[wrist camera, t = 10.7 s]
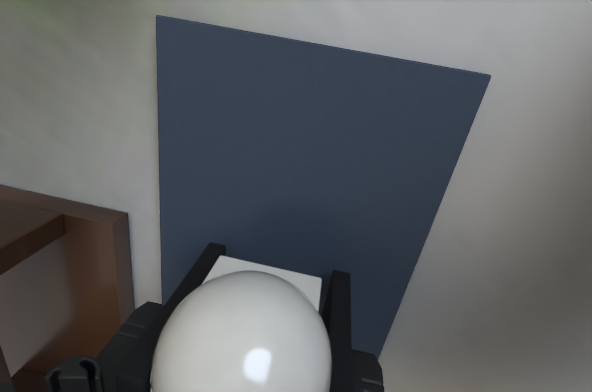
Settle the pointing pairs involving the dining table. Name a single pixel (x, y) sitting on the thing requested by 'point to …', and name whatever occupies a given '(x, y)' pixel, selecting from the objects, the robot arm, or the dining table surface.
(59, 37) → the dining table surface
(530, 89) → the dining table surface
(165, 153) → the mat
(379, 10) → the dining table surface
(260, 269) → the white dome-topped canister
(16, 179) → the dining table surface
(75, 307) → the rack
